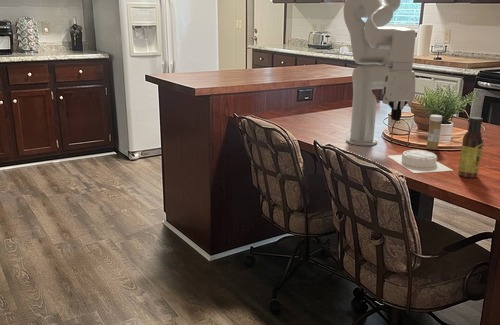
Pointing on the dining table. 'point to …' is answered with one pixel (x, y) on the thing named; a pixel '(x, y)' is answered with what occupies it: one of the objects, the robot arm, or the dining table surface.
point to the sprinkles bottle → (434, 132)
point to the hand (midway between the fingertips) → (395, 119)
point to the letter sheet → (436, 168)
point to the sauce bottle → (471, 149)
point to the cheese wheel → (419, 158)
